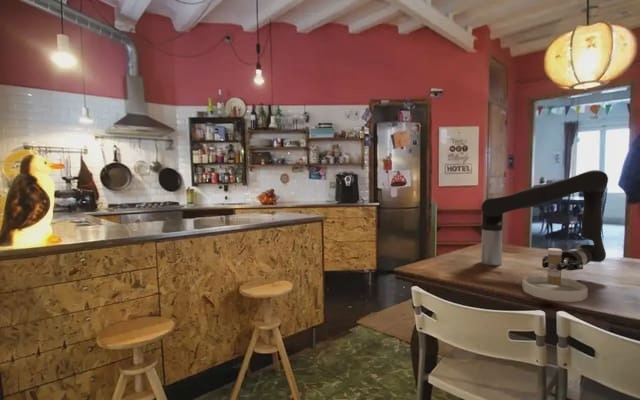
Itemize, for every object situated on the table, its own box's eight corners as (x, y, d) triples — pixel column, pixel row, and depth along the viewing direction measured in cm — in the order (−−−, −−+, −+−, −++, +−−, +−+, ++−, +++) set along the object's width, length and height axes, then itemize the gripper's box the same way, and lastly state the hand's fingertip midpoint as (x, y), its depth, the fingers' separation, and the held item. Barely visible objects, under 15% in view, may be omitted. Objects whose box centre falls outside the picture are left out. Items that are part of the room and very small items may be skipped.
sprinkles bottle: (546, 284, 135) (546, 249, 134) (548, 281, 139) (548, 247, 138) (560, 286, 133) (561, 250, 132) (562, 283, 136) (562, 248, 135)
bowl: (527, 298, 131) (527, 288, 130) (519, 282, 149) (520, 274, 149) (593, 304, 123) (594, 294, 123) (577, 287, 141) (577, 278, 141)
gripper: (552, 247, 149) (531, 253, 139) (593, 253, 137) (572, 260, 127) (552, 264, 149) (531, 272, 140) (592, 272, 137) (572, 280, 128)
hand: (551, 266), depth 134 cm, fingers closed on sprinkles bottle, 4 cm apart
